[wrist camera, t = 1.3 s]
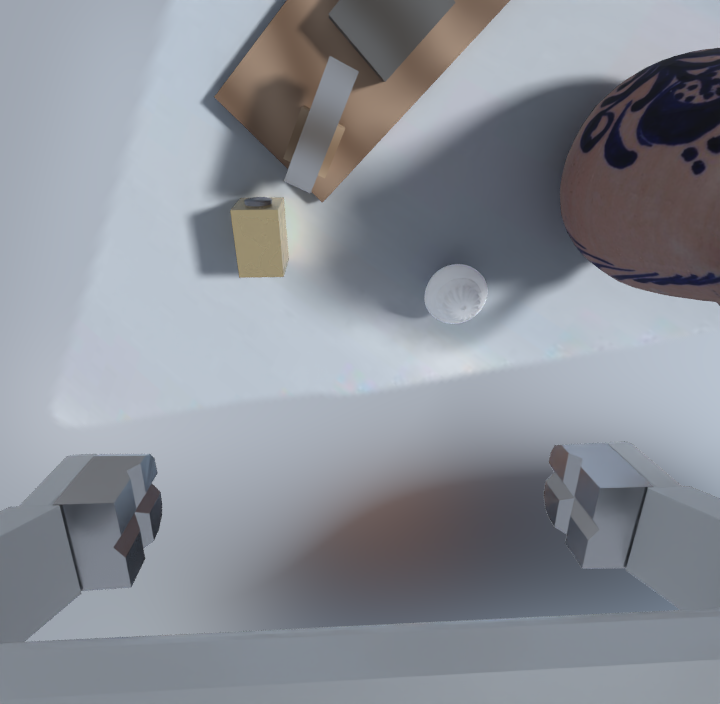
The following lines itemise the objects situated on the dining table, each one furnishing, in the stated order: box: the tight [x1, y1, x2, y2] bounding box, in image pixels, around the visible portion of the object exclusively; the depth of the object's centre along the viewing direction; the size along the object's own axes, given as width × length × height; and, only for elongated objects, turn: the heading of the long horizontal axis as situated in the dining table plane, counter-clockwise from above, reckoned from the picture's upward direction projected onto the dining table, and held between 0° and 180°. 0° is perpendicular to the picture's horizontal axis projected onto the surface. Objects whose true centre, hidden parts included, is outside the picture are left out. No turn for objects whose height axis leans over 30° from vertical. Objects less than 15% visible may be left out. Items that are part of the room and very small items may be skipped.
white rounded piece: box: [424, 264, 488, 324], centre depth 46 cm, size 6×6×7 cm
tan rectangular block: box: [230, 197, 289, 278], centre depth 43 cm, size 7×4×5 cm, turn 0°
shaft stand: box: [215, 0, 510, 203], centre depth 34 cm, size 28×12×8 cm, turn 135°
